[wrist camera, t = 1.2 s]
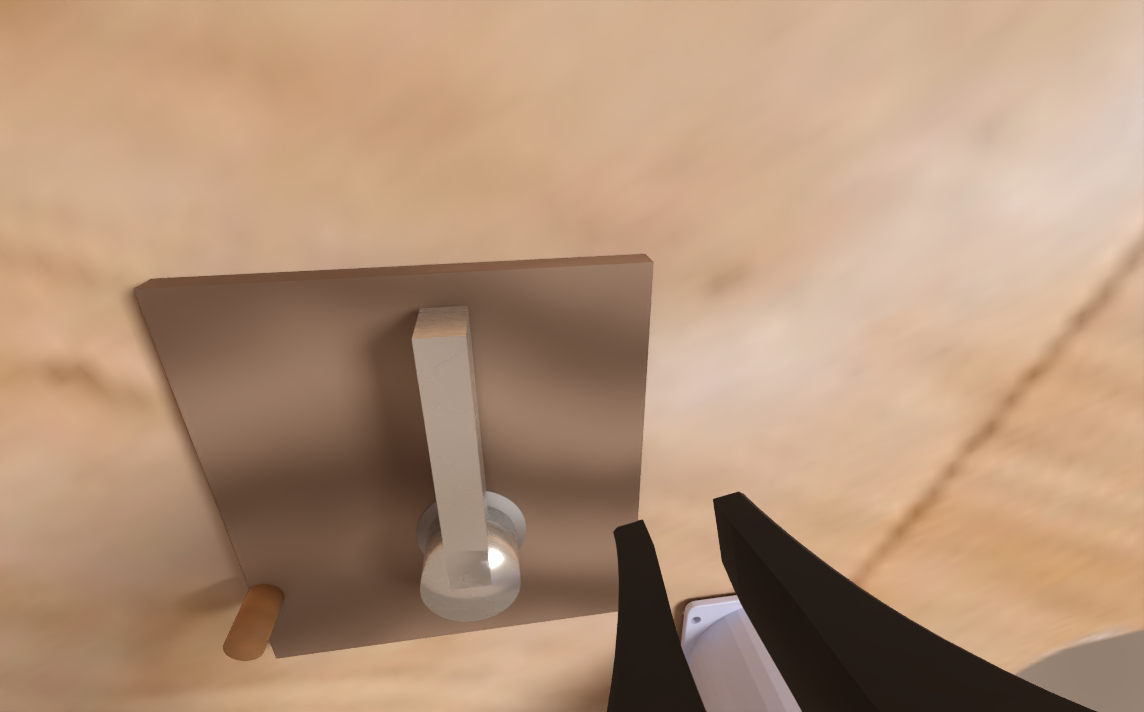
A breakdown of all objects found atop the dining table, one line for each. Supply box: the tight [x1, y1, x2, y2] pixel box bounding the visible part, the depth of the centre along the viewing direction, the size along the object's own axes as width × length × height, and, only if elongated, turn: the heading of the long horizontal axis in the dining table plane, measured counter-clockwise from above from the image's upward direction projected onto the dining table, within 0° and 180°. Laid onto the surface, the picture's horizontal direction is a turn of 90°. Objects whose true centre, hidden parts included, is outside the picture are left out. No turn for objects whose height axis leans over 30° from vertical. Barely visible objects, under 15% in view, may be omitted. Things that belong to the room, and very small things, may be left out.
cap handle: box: [412, 306, 521, 622], centre depth 19 cm, size 12×4×2 cm, turn 0°
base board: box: [133, 254, 653, 661], centre depth 20 cm, size 17×16×3 cm
